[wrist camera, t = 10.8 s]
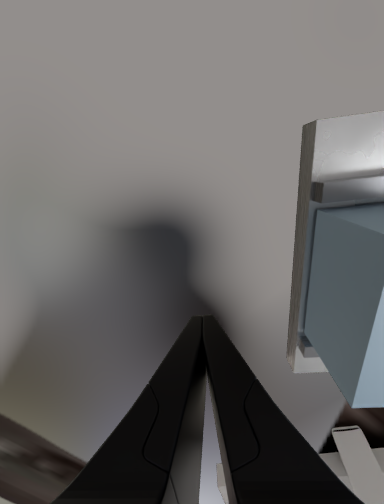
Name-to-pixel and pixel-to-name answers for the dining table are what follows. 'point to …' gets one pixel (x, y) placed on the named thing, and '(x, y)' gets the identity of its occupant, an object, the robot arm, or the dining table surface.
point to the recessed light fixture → (347, 466)
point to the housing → (349, 300)
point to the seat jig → (330, 204)
